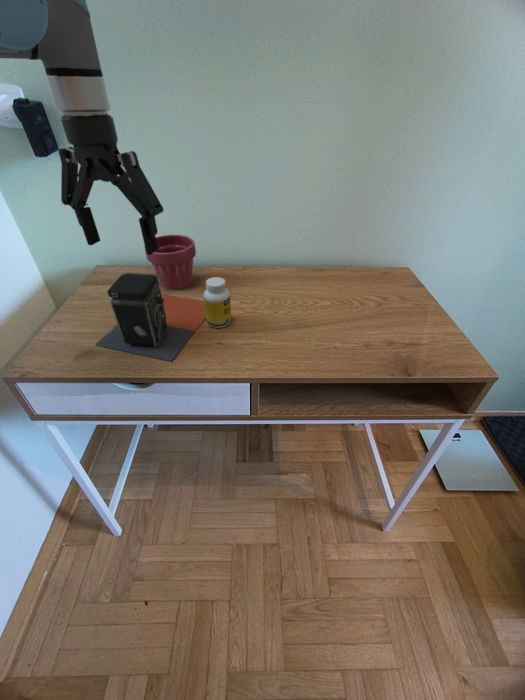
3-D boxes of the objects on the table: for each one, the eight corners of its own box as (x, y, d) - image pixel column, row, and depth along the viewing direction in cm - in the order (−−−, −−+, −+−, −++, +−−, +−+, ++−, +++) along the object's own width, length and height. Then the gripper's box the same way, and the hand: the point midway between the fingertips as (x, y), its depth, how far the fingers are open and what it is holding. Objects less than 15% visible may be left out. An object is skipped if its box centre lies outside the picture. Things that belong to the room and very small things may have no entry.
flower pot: (177, 298, 93) (169, 256, 84) (143, 286, 98) (133, 245, 90) (208, 279, 102) (204, 240, 94) (175, 269, 108) (169, 231, 100)
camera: (176, 324, 82) (165, 270, 73) (162, 350, 74) (148, 292, 64) (137, 321, 83) (121, 267, 73) (119, 346, 75) (99, 289, 65)
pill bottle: (222, 331, 80) (219, 290, 73) (201, 324, 83) (196, 284, 75) (236, 318, 85) (234, 279, 78) (215, 312, 87) (211, 273, 80)
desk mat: (95, 345, 75) (95, 344, 75) (154, 293, 95) (154, 292, 95) (171, 362, 71) (171, 361, 71) (216, 304, 91) (216, 303, 90)
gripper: (169, 114, 49) (188, 248, 63) (43, 110, 55) (85, 233, 69) (140, 117, 44) (167, 264, 57) (3, 112, 50) (57, 245, 63)
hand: (122, 247), depth 63 cm, fingers open, 13 cm apart
